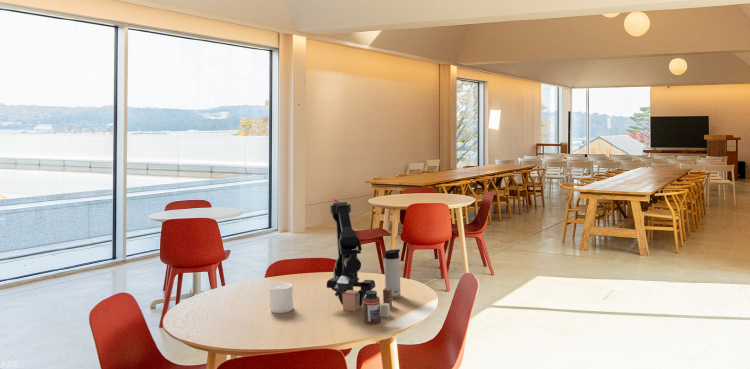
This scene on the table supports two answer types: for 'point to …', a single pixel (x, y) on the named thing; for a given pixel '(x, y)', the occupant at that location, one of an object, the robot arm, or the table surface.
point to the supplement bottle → (371, 307)
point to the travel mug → (392, 272)
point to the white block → (385, 310)
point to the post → (387, 296)
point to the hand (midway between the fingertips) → (351, 305)
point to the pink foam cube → (351, 300)
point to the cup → (281, 297)
